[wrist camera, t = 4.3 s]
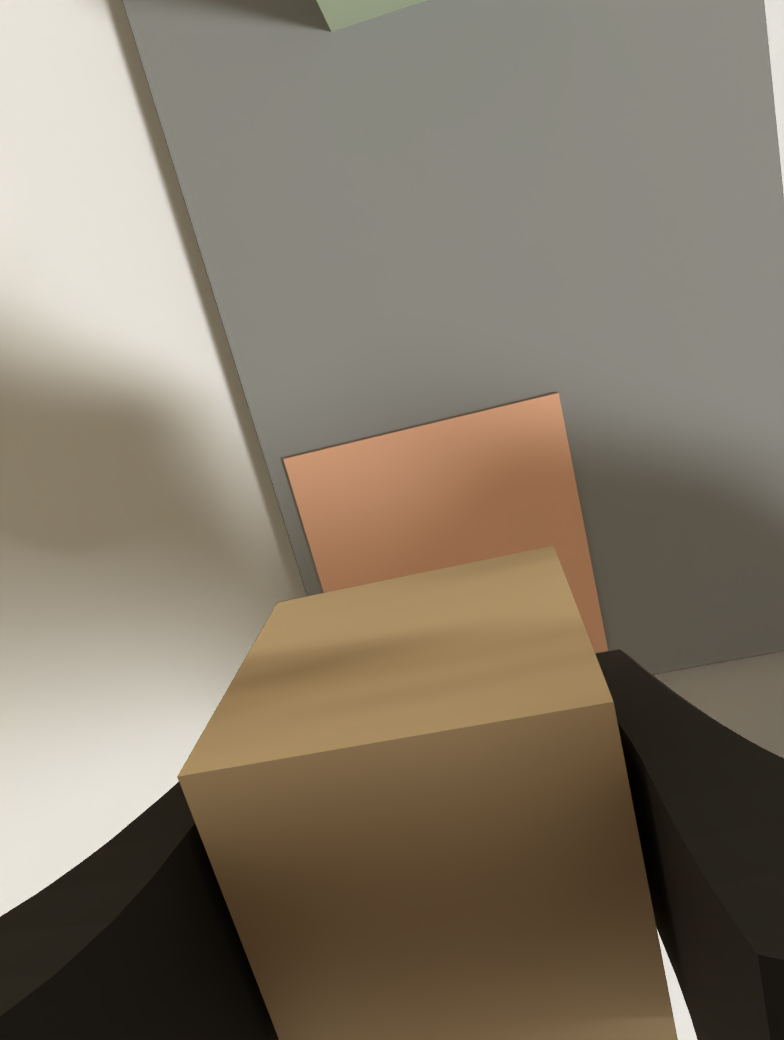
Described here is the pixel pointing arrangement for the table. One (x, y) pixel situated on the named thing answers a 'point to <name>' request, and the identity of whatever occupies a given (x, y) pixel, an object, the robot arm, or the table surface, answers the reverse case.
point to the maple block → (432, 816)
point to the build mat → (503, 291)
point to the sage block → (358, 10)
